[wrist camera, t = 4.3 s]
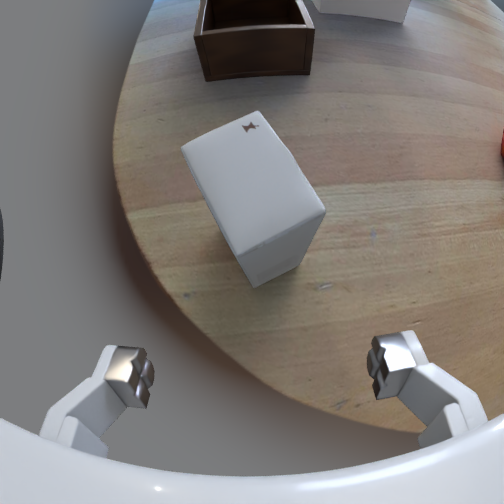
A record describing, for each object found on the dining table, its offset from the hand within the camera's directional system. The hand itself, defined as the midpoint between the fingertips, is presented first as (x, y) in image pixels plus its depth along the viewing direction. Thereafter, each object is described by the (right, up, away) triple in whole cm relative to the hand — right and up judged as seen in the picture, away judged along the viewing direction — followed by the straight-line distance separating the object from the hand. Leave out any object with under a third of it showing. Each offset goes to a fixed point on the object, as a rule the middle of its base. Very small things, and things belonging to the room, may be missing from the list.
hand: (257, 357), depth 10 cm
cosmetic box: (0, +4, +14) cm, 15 cm away
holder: (0, +29, +20) cm, 35 cm away
